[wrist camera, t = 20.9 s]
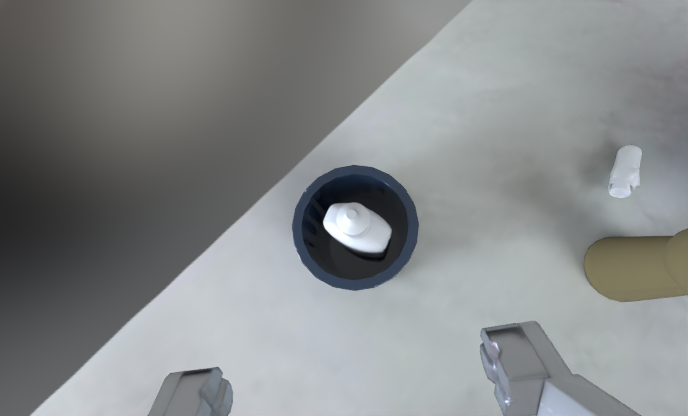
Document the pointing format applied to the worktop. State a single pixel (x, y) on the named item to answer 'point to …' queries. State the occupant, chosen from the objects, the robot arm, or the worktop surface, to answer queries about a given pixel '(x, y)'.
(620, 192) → the small white plastic part
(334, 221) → the eye dropper bottle
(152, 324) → the worktop surface
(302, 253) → the dark blue round pot
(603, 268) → the olive pawn
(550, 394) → the robot arm
